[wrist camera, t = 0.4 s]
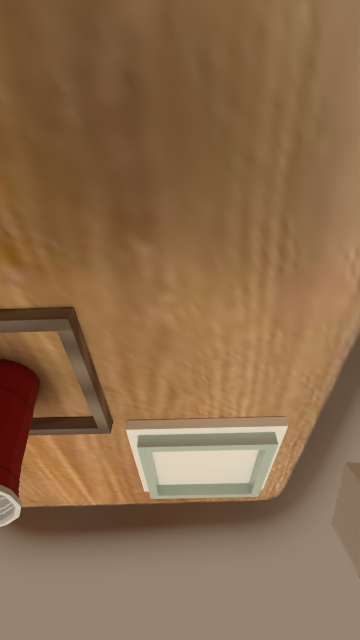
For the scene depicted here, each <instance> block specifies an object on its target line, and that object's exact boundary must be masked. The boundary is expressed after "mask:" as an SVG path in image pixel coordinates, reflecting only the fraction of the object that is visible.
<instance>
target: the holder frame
mask: <svg viewBox="0 0 360 640" xmlns="http://www.w3.org/2000/svg"><path fill="white" fill-rule="evenodd" d="M39 331H58V334H59V336H60V339H61V341H62V343H63V346H64V348H65V351H66V353H67V355H68V358H69V360H70V362H71V365H72V367H73V370H74V372H75V374H76V377H77V379H78V381H79V384H80V386H81V389H82V391H83V393H84V396H85V398H86V401H87V403H88V405H89V408H90V410H91V412H92V415H93V417H64V418H32V423H31V427H30V431H29V435H67V434H110V433H111V429H112V424H113V421H112V418H111V415H110V412H109V409H108V406H107V403H106V400H105V398H104V395H103V392H102V389H101V386H100V383H99V380H98V377H97V374H96V372H95V369H94V366H93V363H92V360H91V357H90V354H89V351H88V348H87V346H86V343H85V340H84V337H83V334H82V331H81V328H80V325H79V322H78V320H77V317H76V314H75V311H74V308H73V307H71V308H39V309H7V310H0V333H5V332H39Z"/></svg>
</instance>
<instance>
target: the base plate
mask: <svg viewBox="0 0 360 640" xmlns="http://www.w3.org/2000/svg"><path fill="white" fill-rule="evenodd" d="M287 428H288V424H287V421H286V418H285V417H253V418H212V419H170V420H129V421H127V426H126V432H127V435H128V438H129V442H130V445H131V448H132V452H133V455H134V458H135V462H136V465H137V468H138V472H139V475H140V478H141V481H142V485H143V488H144V491H149V493H150V497H151V499H162V498H213V497H258V495H259V493H260V490H261V489H263V487H264V485H265V482H266V480H267V477H268V475H269V472H270V470H271V467H272V465H273V462H274V460H275V458H276V455H277V453H278V450H279V448H280V445H281V443H282V440H283V438H284V435H285V433H286V430H287Z"/></svg>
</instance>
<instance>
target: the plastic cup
mask: <svg viewBox="0 0 360 640" xmlns="http://www.w3.org/2000/svg"><path fill="white" fill-rule="evenodd" d="M38 386H39V380H38V378H37V376H36V375H35V374H34V373H33V372H32V371H31V370H29V369H28V368H26V367H24V366H22V365H20V364H18V363H15V362H11V361H7V360H0V526H4V525H7V524H9V523H10V522H12V521H13V520H15V519H16V518H18V517H19V515H20V509H21V500H20V499H19V495H18V494H19V490H18V489H19V482H20V481H19V479H20V472H21V465H22V461H23V456H24V452H25V448H26V444H27V439H28V435H29V431H30V427H31V423H32V418H33V410H34V406H35V403H36V399H37V395H38V389H39V387H38Z"/></svg>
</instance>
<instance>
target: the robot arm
mask: <svg viewBox="0 0 360 640" xmlns="http://www.w3.org/2000/svg"><path fill="white" fill-rule="evenodd" d="M331 524H332V526H333V527H334V530H335V532H336V533H337V535H338V537H339V539H340V541H341V543H342V545H343V547H344V549H345V551H346V553H347V555H348V556H349V558H350V560H351V562H352V564H353V566H354V568H355V570H356V572H357V574H358V576H359V578H360V463H356V462H345V464H344V469H343V473H342V478H341V482H340V487H339V491H338V496H337V500H336V505H335V509H334V514H333V518H332V522H331Z"/></svg>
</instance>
